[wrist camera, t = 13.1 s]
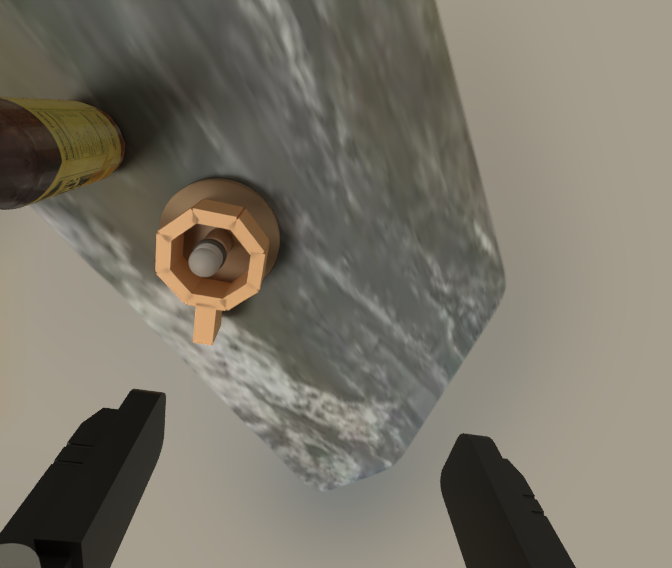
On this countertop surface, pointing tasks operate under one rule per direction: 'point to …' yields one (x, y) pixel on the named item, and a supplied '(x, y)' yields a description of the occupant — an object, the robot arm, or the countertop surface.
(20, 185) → the sauce bottle
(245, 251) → the round wooden base
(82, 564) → the robot arm
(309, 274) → the countertop surface
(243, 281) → the ring
